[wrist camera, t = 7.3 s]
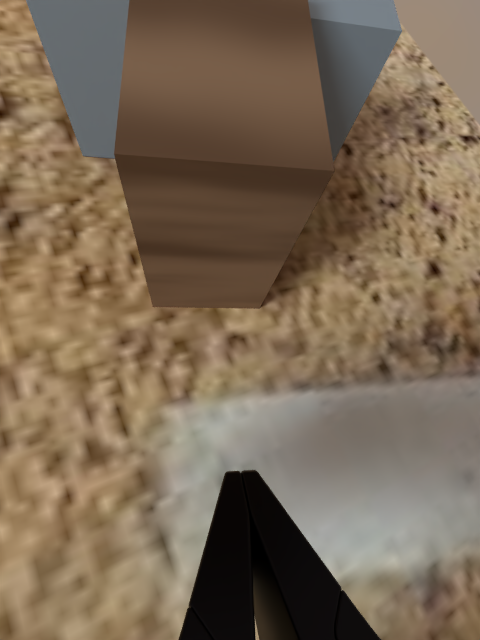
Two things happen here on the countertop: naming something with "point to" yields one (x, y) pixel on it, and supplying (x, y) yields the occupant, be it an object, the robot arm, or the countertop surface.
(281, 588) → the robot arm
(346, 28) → the slate board
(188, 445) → the countertop surface
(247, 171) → the walnut box
